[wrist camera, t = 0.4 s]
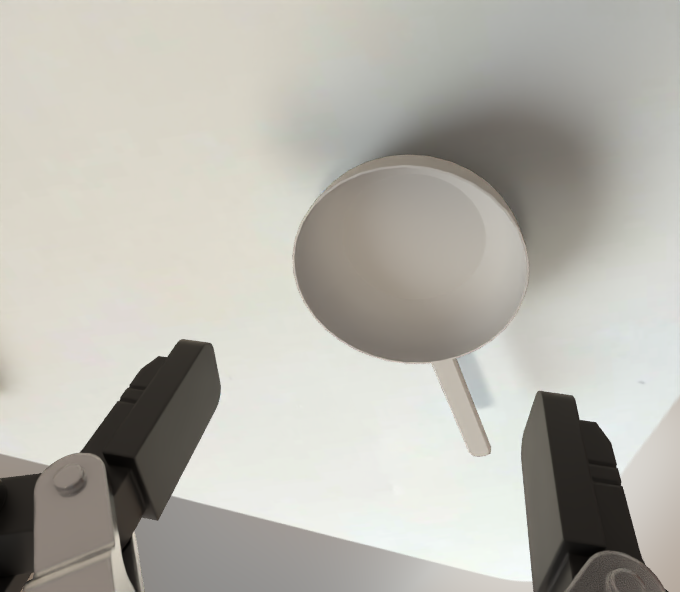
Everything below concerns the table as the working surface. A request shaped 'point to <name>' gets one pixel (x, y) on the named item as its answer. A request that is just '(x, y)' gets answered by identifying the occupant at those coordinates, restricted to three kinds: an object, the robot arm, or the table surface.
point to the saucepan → (414, 268)
